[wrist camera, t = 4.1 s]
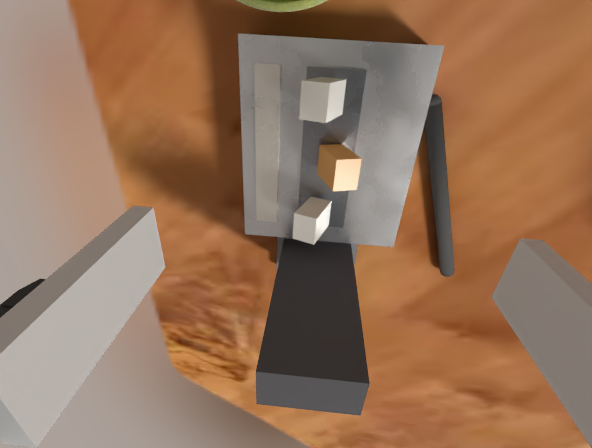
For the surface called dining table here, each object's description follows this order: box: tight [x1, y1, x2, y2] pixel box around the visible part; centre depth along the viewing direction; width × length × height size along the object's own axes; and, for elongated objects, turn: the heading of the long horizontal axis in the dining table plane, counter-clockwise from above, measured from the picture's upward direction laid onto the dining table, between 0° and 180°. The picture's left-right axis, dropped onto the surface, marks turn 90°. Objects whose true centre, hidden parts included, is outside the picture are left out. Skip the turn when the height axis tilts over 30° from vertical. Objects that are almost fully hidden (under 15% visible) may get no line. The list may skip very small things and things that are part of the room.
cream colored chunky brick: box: [299, 77, 347, 123], centre depth 18 cm, size 2×2×3 cm
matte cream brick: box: [293, 196, 332, 245], centre depth 22 cm, size 2×2×3 cm
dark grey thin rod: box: [425, 94, 454, 277], centre depth 25 cm, size 16×1×1 cm, turn 17°
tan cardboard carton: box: [317, 144, 362, 191], centre depth 20 cm, size 2×2×3 cm
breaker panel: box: [238, 33, 444, 247], centre depth 23 cm, size 14×12×3 cm
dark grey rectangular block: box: [256, 237, 369, 415], centre depth 23 cm, size 4×7×14 cm, turn 87°
